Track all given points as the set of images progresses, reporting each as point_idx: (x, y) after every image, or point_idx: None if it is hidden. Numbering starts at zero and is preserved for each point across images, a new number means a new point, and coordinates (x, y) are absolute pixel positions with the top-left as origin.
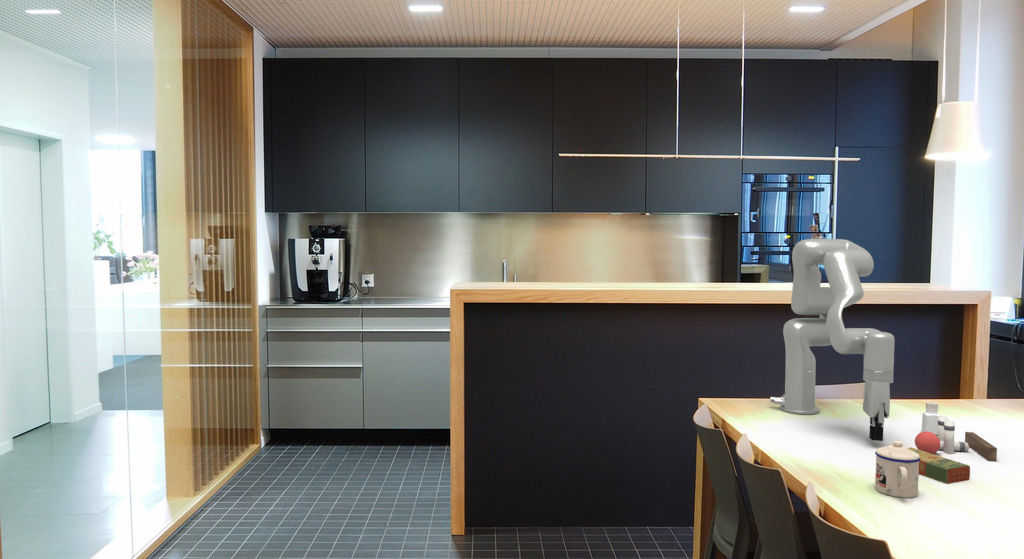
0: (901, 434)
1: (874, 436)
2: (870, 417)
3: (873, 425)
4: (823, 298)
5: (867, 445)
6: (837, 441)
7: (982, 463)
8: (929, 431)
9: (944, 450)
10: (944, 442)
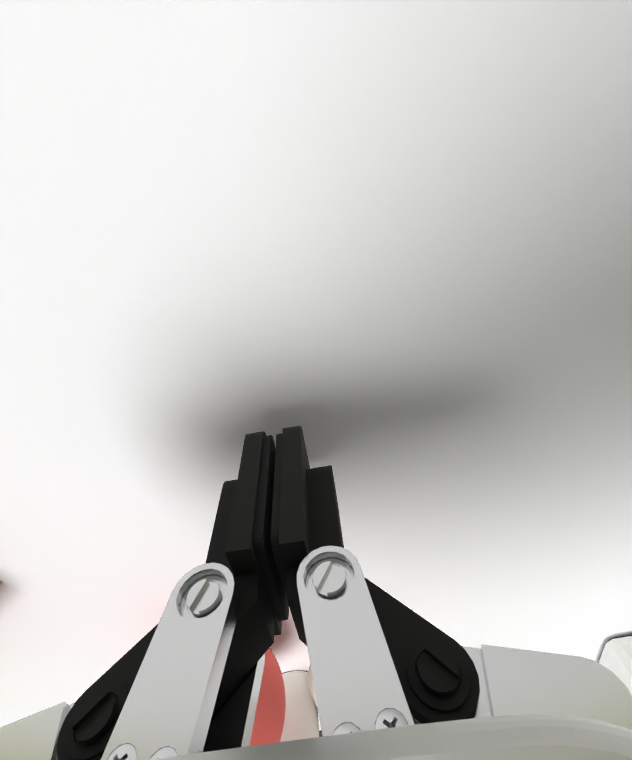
0: (621, 561)
1: (224, 486)
2: (335, 668)
3: (173, 597)
4: None
5: (238, 380)
6: (248, 65)
7: None
8: (615, 669)
9: (285, 686)
10: (286, 738)
